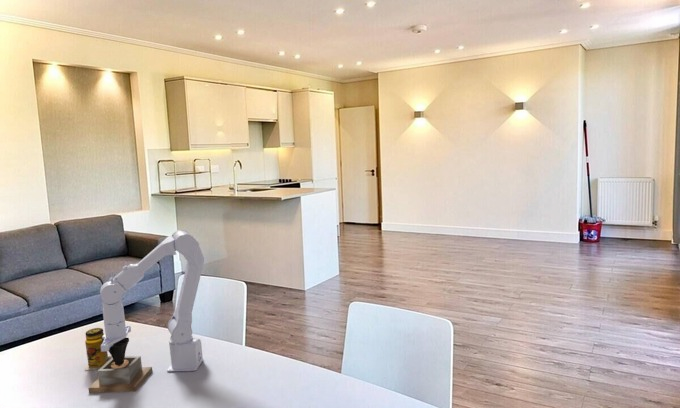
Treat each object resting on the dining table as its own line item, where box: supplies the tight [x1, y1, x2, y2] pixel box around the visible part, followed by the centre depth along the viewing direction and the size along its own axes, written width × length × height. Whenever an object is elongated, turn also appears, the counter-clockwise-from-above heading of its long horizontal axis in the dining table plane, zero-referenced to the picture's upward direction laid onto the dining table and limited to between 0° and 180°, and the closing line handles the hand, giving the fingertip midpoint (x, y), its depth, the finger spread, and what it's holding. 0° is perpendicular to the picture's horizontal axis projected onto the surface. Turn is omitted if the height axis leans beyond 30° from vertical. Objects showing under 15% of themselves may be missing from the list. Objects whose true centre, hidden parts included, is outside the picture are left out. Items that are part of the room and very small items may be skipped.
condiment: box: [84, 327, 112, 371], centre depth 159 cm, size 7×8×12 cm
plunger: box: [111, 360, 129, 369], centre depth 146 cm, size 6×6×4 cm
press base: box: [87, 355, 153, 394], centre depth 146 cm, size 14×12×6 cm
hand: (119, 363), depth 146 cm, fingers closed, pressing on plunger
